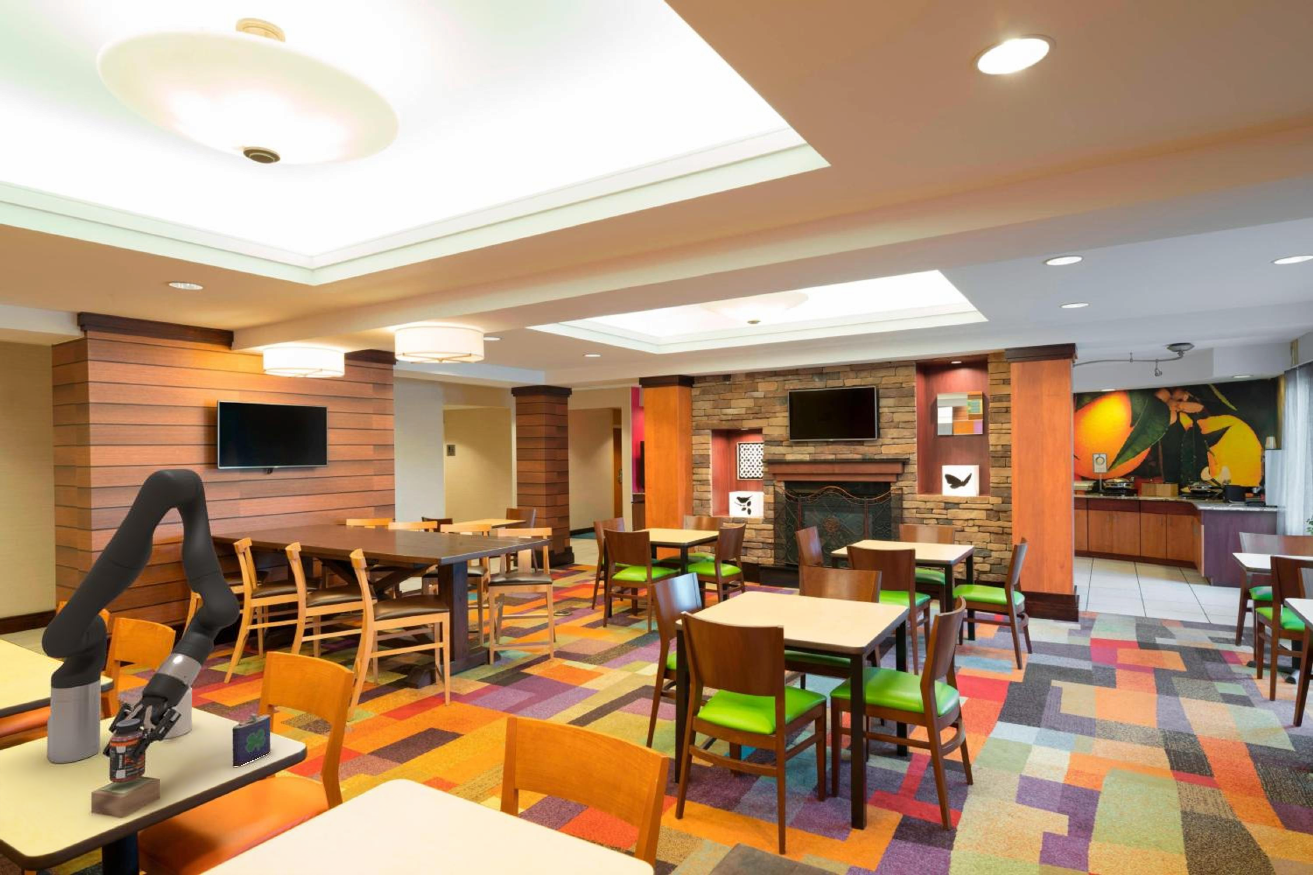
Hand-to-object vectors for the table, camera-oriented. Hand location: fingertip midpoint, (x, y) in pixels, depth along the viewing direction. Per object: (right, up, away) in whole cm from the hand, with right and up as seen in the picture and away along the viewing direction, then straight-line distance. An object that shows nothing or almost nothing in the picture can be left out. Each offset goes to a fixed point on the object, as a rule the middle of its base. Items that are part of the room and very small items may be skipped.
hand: (119, 757), depth 143 cm
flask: (+14, -11, +23) cm, 29 cm away
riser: (0, -10, +1) cm, 10 cm away
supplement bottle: (0, -5, +2) cm, 5 cm away
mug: (-14, -11, +36) cm, 40 cm away
